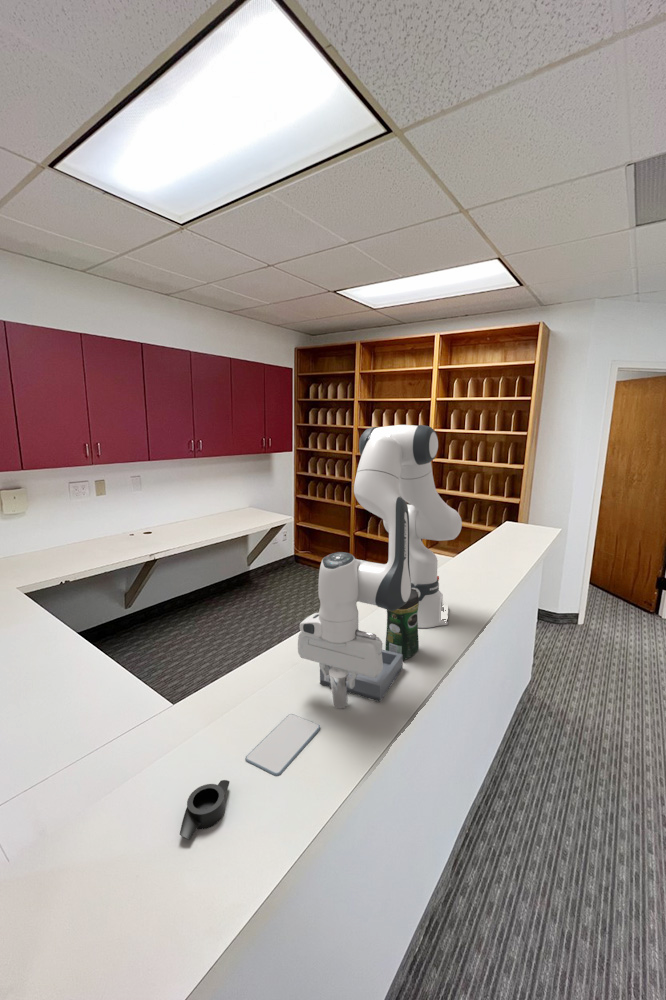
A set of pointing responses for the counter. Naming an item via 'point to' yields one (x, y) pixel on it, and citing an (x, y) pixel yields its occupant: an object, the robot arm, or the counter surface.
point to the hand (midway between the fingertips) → (339, 683)
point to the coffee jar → (403, 628)
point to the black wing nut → (204, 808)
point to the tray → (378, 685)
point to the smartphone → (283, 744)
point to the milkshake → (339, 687)
